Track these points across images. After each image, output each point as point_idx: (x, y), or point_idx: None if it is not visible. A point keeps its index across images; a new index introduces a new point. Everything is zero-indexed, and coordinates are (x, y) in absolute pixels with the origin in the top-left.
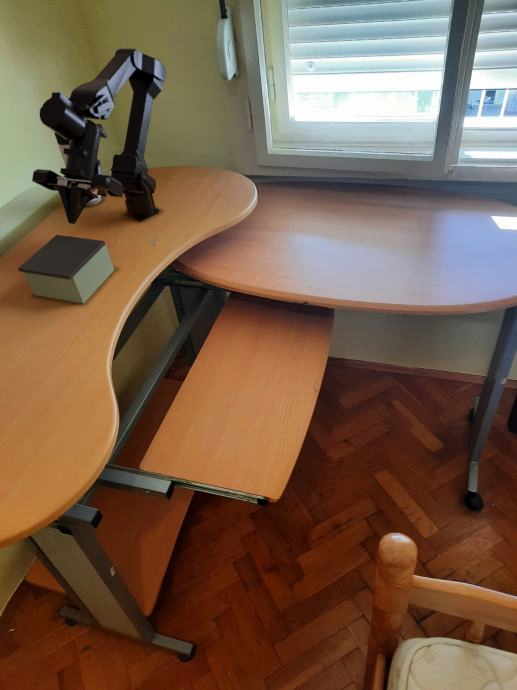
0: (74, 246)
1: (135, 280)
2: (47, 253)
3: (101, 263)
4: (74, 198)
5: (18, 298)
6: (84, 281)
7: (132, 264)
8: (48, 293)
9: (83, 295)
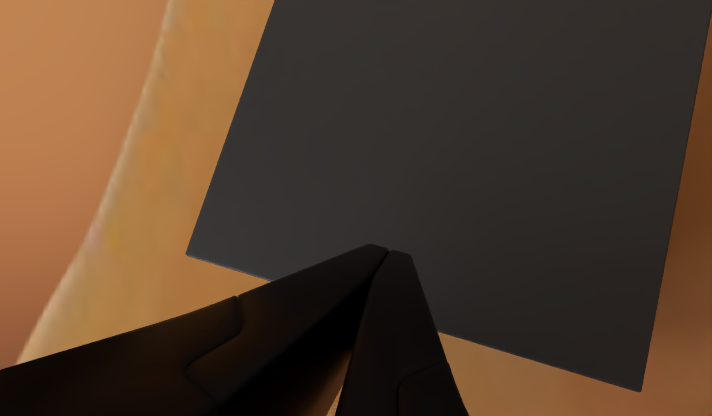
0: (396, 188)
1: (152, 187)
2: (582, 101)
3: None
4: (137, 348)
5: (705, 48)
6: None
7: None
8: None
9: None
